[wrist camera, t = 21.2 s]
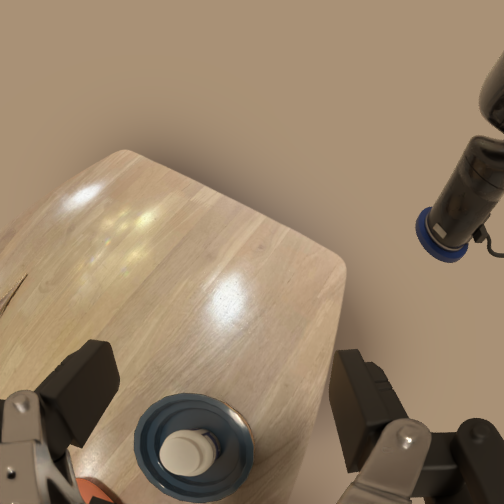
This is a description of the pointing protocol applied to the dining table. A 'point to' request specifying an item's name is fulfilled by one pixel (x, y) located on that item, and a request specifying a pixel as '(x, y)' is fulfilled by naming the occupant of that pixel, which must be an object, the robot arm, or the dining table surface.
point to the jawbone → (9, 294)
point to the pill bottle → (190, 451)
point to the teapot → (90, 491)
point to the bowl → (186, 417)
